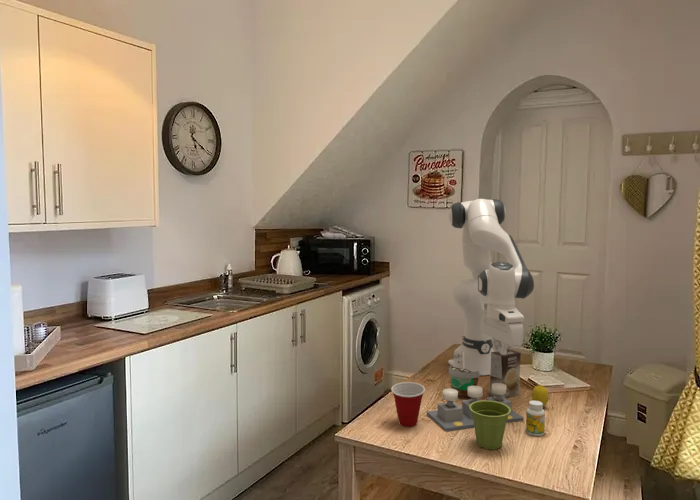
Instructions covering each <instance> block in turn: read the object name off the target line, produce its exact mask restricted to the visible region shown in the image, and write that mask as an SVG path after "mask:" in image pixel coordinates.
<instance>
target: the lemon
mask: <svg viewBox="0 0 700 500" xmlns="http://www.w3.org/2000/svg"><path fill="white" fill-rule="evenodd" d="M548 391H549V390H548V389H547V388H546V387H545V386H543V385H542V384H539V385H536V386H535V387H533V389H532V391H531V401H540V402H542V403H543V406H546V405H547V403H548V401H549V392H548Z"/></svg>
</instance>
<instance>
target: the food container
mask: <svg viewBox="0 0 700 500" xmlns="http://www.w3.org/2000/svg"><path fill="white" fill-rule="evenodd" d="M448 374H449V375H450V387H451V388H450V389H455V390H457V391H458V399H464V400H471V399H472V397H469V396H468V395H467V392H468V387H469V386H478V382H479V378H480V377H481V375H480V374H479V371H477V372H471V371H469V370H467V369H460V368H456V367H453V364H452V365H450V366H449V367H448Z"/></svg>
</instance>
